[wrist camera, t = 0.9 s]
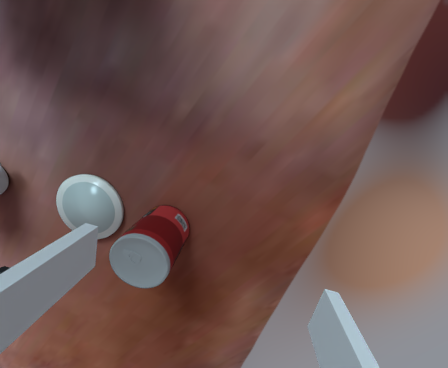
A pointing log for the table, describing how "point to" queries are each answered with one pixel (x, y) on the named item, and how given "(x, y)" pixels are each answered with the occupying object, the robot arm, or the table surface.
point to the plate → (90, 204)
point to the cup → (3, 180)
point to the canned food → (150, 247)
